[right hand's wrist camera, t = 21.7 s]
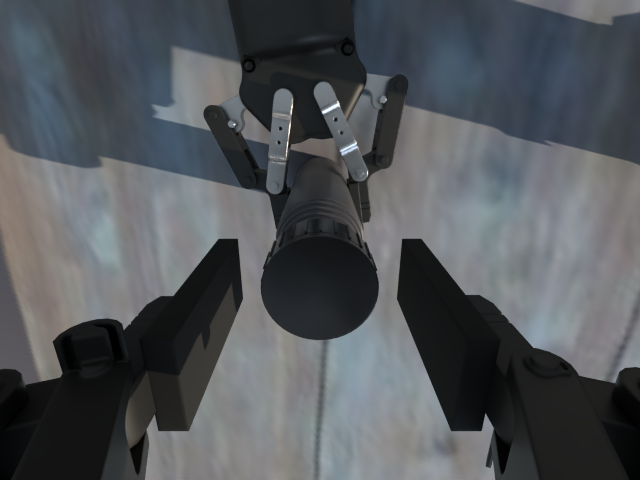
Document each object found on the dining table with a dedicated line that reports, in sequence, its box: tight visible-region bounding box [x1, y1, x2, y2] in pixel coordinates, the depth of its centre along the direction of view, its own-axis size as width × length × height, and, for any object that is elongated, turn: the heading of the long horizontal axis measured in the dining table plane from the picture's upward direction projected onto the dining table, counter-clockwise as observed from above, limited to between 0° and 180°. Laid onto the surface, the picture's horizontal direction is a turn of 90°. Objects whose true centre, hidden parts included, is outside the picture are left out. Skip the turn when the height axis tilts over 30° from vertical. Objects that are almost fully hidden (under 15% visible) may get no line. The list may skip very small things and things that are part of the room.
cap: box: [261, 218, 379, 340], centre depth 14 cm, size 4×4×2 cm
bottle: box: [276, 157, 364, 241], centre depth 23 cm, size 4×4×20 cm
